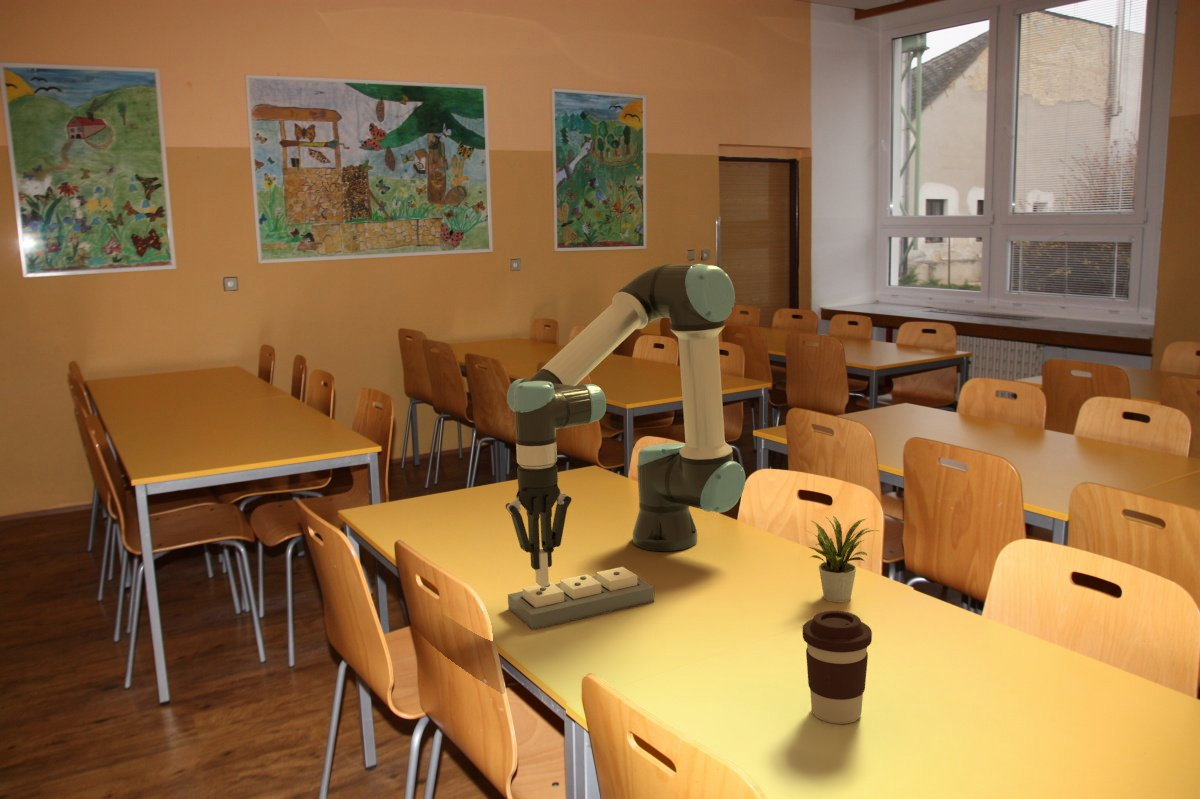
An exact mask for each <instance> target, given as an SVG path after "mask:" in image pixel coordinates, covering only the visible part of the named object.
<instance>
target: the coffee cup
mask: <svg viewBox="0 0 1200 799" xmlns="http://www.w3.org/2000/svg"><path fill="white" fill-rule="evenodd" d="M872 635H873V632H872V629H871V628H870V626H869V625H868V624H867V623H865V622H863V621H862V620H861V619H860V617H858V615H856V614H855V613H852V612H848V611H844V610H824V611H821V612H817V613H816V614H815V615H814V616H813V618H812V619H809V620H807V621H806V622H804V623H803V625H802V639H803V641H804V642H805V643H806V645H807V646H806V648H805V649H806V650H805V655H806V667H807V668H806V670H807V684H808V687H809V690H810V703H811V707H810V708H811V711H812V713H813V715H814V716H815V717H816V718H817V719H819V720H821V721H822V722H823V721H824V722H826V723H829V724H836V725H837V724H838V725H840V724H842V725H843V724H850V723H853V722H855V721H858V720H859V719H860V718H861V715H862V710H863V701H864V700H863V698H864V692H865V690H866V684H867V682H866V681H867V680H866V678H867V671H868V670H867V669H868V668H867V667H868V659H869V658H868V656H869V655H868V647H869V646H870V645H871V644H872V641H873V640H872V637H873V636H872Z"/></svg>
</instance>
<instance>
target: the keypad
mask: <svg viewBox="0 0 1200 799" xmlns="http://www.w3.org/2000/svg"><path fill="white" fill-rule="evenodd" d="M591 577H592V578H594V579H595V580H597V575H592V576H591ZM553 584H554V583H553ZM554 585H556V586H557V587H558V588H560V589H561V587H560V582H559V583H556V584H554ZM654 587H655V586H654ZM654 587H653V586H652V585H651V584H649V583H648V582H646V581H644V580H642V579H641V578H639V577H638V576H637V585H636V586H631V587H627V588H622V589H618V590H613V591H610V590H608V589H607V588H605V587H604V586H602V585H601V593H600V594H595V595H591V596H586V597H582V598H577V599H573V598H571V597H570V596H569V595H567V594H566V593H565V592H564V602H559V603H555V604H550V605H546V606H541V607H537V608H535V607H534V606H533V605H531V604H530V603H529V602H528V601H527V600H525V599H524V598H523V590H522V591H517V592H512V593H508V594H507V602H508V604H507V606H508V608H507V609H508V610H509V611H510V612H511V613H512V614H514V615H515V616H516V617H517V618H518V619H519V620H521V621H522V622H523V623H524V624H525V625H526V626H527V627H528V628H530V630H531V631H535V630H539V629H543V628H548V627H552V626H556V625H561V624H565V623H569V622H573V621H577V620H582V619H586V618H590V617H595V616H599V615H604V614H607V613H608V614H609V613H612V612H616V611H620V610H621V611H622V610H625V609H629V608H634V607H637V606H641V605H646V604H651V603H654V602H655V593H654V592H655V588H654Z"/></svg>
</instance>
